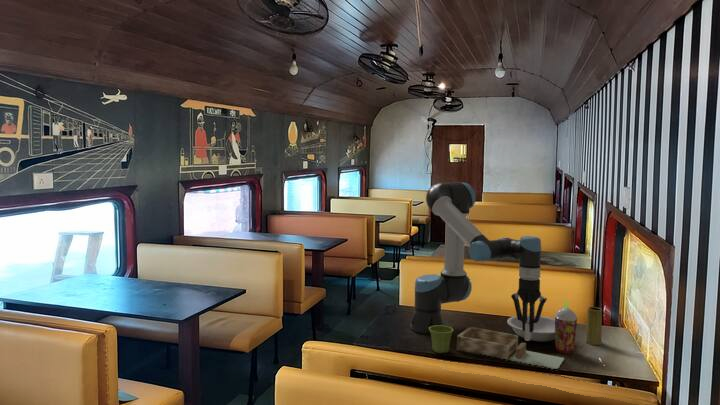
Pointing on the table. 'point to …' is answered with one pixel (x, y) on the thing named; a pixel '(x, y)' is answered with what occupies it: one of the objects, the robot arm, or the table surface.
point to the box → (487, 342)
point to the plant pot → (440, 338)
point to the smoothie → (565, 330)
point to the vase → (594, 326)
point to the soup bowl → (535, 328)
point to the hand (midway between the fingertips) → (527, 339)
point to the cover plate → (535, 358)
